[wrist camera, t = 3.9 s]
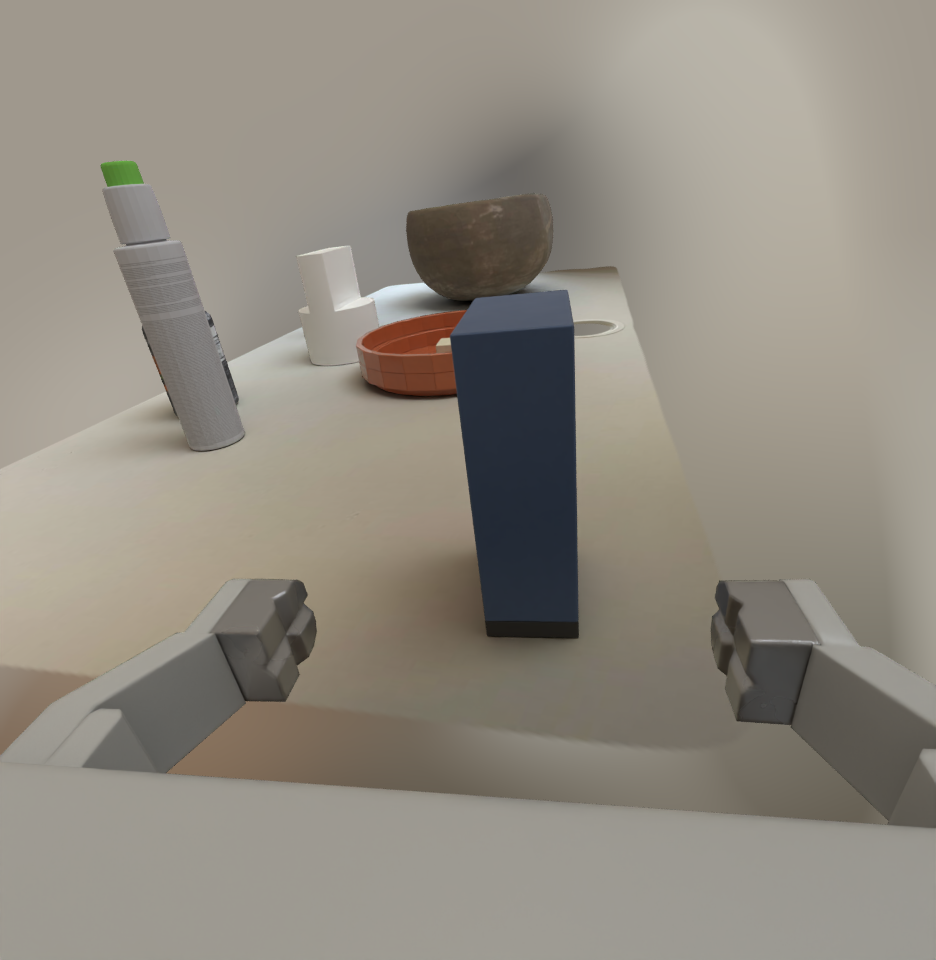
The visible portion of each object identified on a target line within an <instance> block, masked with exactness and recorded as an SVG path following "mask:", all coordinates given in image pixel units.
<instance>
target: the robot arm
mask: <svg viewBox="0 0 936 960" xmlns="http://www.w3.org/2000/svg"><path fill="white" fill-rule="evenodd" d="M307 596H308V594H307V592H306V589H305V586H304V584H303V582H301V581H299V580H285V579H231V580H229V581H227V582H226V583H225V584H224V585H223V586H222V587H221V589H220V590H219V591H218V592H217V593H216V595H215V596H214V597H213V598H212V599H211V601H210V602H209V603H208V604H207V605H206V607H205V608H204V609H203V610H202V611H201V613H200V614H199V615H198V616H197V617H196V619H195V620H194V621H193V622H192V623H191V625H190V626H189V627H188V628H187V629H186V631H185V632H184V633H175V634H174V635H172V636H170V637H168V638H166V639H165V640H163V641H161V642H159V643H158V644H156V645H154V646H152V647H150V648H149V649H147V650H145V651H143V652H142V653H140V654H138V655H136V656H135V657H133V658H131V659H129V660H127V661H126V662H124V663H122V664H120V665H119V666H117V667H115V668H113V669H111V670H110V671H108V672H106V673H104V674H103V675H101V676H99V677H97V678H95V679H94V680H92V681H90V682H89V683H87V684H85V685H83V686H82V687H80V688H78V689H76V690H75V691H72V692H71V693H69V694H67V695H66V696H64V697H62V698H60V699H58V700H56V701H55V702H53V703H51V704H50V705H49V706H48V707H47V708H46V709H45V710H44V711H43V712H42V713H41V714H40V715H39V716H38V717H37V718H36V719H35V720H34V721H33V723H32V724H30V726H29V727H28V728H27V729H26V730H25V731H24V732H23V733H22V734H21V735H20V736H19V737H18V738H17V739H16V740H15V741H14V742H13V743H12V744H11V745H10V746H9V747H8V748H7V749H6V750H5V751H4V752H3V753H2V754H1V755H0V960H936V685H934V684H932V683H931V682H929V681H927V680H926V679H924V678H923V677H921V676H919V675H917V674H916V673H914V672H912V671H910V670H909V669H907V668H905V667H904V666H902V665H900V664H899V663H897V662H895V661H893V660H892V659H890V658H889V657H887V656H885V655H883V654H882V653H880V652H878V651H876V650H875V649H873V648H871V647H865V646H864V647H862V646H859V644H858V642H857V641H856V640H855V638H854V637H853V635H852V634H851V632H850V631H849V629H848V628H847V627H846V625H845V624H844V622H843V621H842V619H841V618H840V617H839V615H838V614H837V612H836V611H835V609H834V608H833V606H832V605H831V604H830V602H829V601H828V599H827V598H826V597H825V595H824V593H823V592H822V591H821V589H820V588H819V586H818V585H817V583H816V582H814V581H813V580H811V579H782V580H779V581H777V580H749V581H748V580H733V581H732V580H729V581H719V583H718V585H717V588H716V594H715V599H716V602H717V604H718V607H719V611H718V612H717V613H716V614H714V615H713V616H712V623H711V644H712V650H713V654H714V658H715V661H716V664H717V667H718V669H719V670H721V671H722V672H723V673H724V674H725V675H727V680H726V686H725V690H726V693H727V696H728V698H729V701H730V704H731V707H732V709H733V712H734V715H735V718H736V720H737V721H741V722H755V723H770V724H785V725H791V728H792V729H793V730H794V731H795V732H796V733H797V734H798V735H800V736H801V737H802V739H804V740H805V741H806V742H807V743H808V744H809V745H810V746H811V747H812V748H813V749H814V750H815V751H816V752H817V753H818V754H819V755H820V756H821V757H822V758H823V759H824V760H825V761H826V762H828V763H829V764H830V765H831V766H832V767H833V768H834V769H835V770H836V771H837V772H838V773H839V774H840V775H841V776H842V777H843V778H844V779H845V780H847V782H848V783H850V784H851V785H852V786H853V787H854V788H855V789H856V790H857V791H858V792H859V793H860V794H861V795H862V796H863V797H864V798H865V799H866V800H867V801H868V802H869V803H870V804H871V805H873V806H874V807H875V808H876V809H877V810H878V811H879V812H880V813H881V814H882V815H883V816H884V817H885V818H886V819H887V820H888V821H889V822H888V824H887V825H883V824H868V823H854V822H841V821H827V820H813V819H799V818H785V817H771V816H757V815H743V814H729V813H715V812H702V811H687V810H673V809H659V808H645V807H631V806H616V805H602V804H587V803H573V802H560V801H545V800H531V799H516V798H502V797H488V796H475V795H461V794H447V793H432V792H418V791H405V790H391V789H390V790H389V789H377V788H362V787H349V786H334V785H321V784H307V783H292V782H279V781H265V780H251V779H237V778H223V777H209V776H194V775H180V774H166V773H167V772H168V771H169V770H170V769H171V768H172V767H173V766H175V765H176V764H177V763H178V762H179V761H180V760H181V759H183V758H184V757H185V756H186V755H187V754H188V753H190V752H191V751H192V750H193V749H194V748H195V747H196V746H197V745H199V744H200V743H201V742H202V741H203V740H204V739H206V738H207V737H208V736H209V735H210V734H211V733H212V732H214V731H215V730H216V729H217V728H218V727H219V726H220V725H222V724H223V723H224V722H225V721H226V720H227V719H228V718H230V717H231V716H232V715H233V714H234V713H235V712H236V711H238V710H239V709H240V708H241V707H242V706H243V705H244V704H245V703H246V702H245V701H274V702H286V700H287V698H288V696H289V694H290V692H291V690H292V688H293V686H294V684H295V682H296V680H297V679H298V677H299V675H300V674H299V671H298V667H297V665H298V664H300V663H301V662H303V661H304V660H305V659H307V658H308V657H309V655H310V653H311V651H312V649H313V647H314V643H315V638H316V633H317V629H316V620H315V616H314V613H313V611H312V610H311V609H309V608H308V607H307V606H306V605H305V604H304V601H305V599H306V598H307Z"/></svg>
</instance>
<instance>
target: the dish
mask: <svg viewBox="0 0 936 960" xmlns="http://www.w3.org/2000/svg"><path fill="white" fill-rule="evenodd" d="M466 311H467V310H460V311H451V312H443V313H436V314H430V315H424V316H420V317H414V318H410V319H406V320H401V321H397V322H394V323H391V324H387V325H384V326H381V327H379V328H376V329H374V330H372V331H369V332H367V333H365V334H364V335H363V336H361V337H360V338H359V339H358V340H357V343H356V349H357V354H358V359H359V363H360V368H361V373H362V377H363V378H364V379H365V380H366V381H367V382H369V383H370V384H373V385H376V386H377V387H379V388H380V389H382V390H385V391H388V392H392V393H396V394H403V395H414V396H438V395H451V394H457V390H456V382H455V374H454V366H453V358H452V352H443V353H436V345H437V343H438V342H439V341H440V339H441V338H450V335H451V333H452V332H453V330H454V329H455V327H456V326H457V324H458V323H459V321H460V320H461V318H462V317H463V315H464V314H465V312H466Z"/></svg>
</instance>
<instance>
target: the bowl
mask: <svg viewBox="0 0 936 960" xmlns="http://www.w3.org/2000/svg"><path fill="white" fill-rule="evenodd" d="M406 227H407V228H406V232H407V241H408V247H409V252H410V256H411V259H412V262H413V265H414V267H415V269H416V271H417V273H418V274H419V276H420V277H421V279H422V280H423V281H424V282H425V284H426V285H427V286H429V287H430V288H431V289H432V290H434V291H435V292H436V293H438V294H440V295H441V296H443V297H446V298H449V299H453V300H459V301H474V299H475V298H482V297H492V296H503V295H509V294H511V293H514V292H517V291H519V290H521V289H522V288H524V287H526V286H527V285H528V284H530V283H531V282H532V280H533V279H534V278H535V277H536V276H537V275H538V274H539V273H540V271H541V270H542V269H543V267H544V266H545V264H546V263H547V261H548V258H549V256H550V253H551V249H552V243H553V217H552V212H551V207H550V204H549V201H548V199H547V197H546V196H545V195H542V194H534V193H533V194H523V195H517V196H509V197H502V198H497V199H489V200H481V201H474V202H467V203H459V204H452V205H446V206H441V207H433V208H426V209H421V210H415V211H410V212H409V213H408V215H407V226H406Z"/></svg>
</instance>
